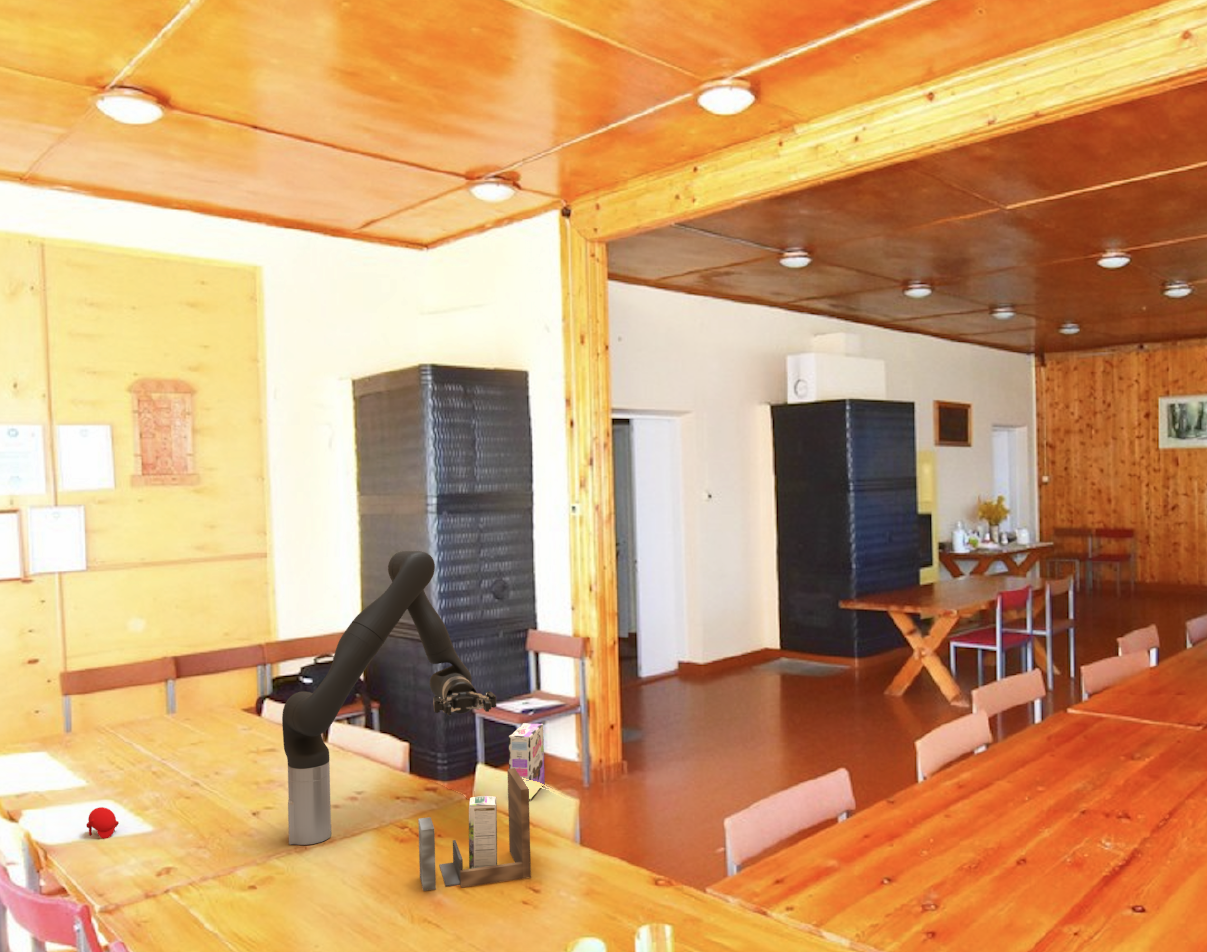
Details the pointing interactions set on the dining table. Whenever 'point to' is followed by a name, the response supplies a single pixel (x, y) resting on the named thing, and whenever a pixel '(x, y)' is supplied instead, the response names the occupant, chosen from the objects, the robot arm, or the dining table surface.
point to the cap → (102, 822)
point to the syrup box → (482, 832)
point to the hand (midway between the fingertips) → (468, 708)
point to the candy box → (528, 752)
